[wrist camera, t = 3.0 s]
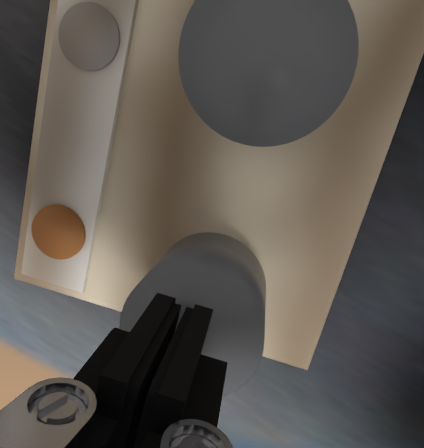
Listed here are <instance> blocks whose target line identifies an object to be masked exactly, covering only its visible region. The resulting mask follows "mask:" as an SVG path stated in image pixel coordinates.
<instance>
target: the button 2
mask: <svg viewBox="0 0 424 448" xmlns="http://www.w3.org/2000/svg"><path fill="white" fill-rule="evenodd" d="M157 293H160V294H164V295H167V296H170V297H174V298H176V301H175V303H176V304H180V305H181V309H180V313H179V317H178V321H177V325H176V329H177V326H178V324H179V322H180V320H181V318H182V316H183V314H184V311H185V309H186V307H189V308H194V306H195V304H197V305H201V306H204V307H207V308H211V309H213V313H212V317H211V320H210V324H209V327H208V331H207V334H206V338H205V342H204V345H203V349H202V352H201V354H202V355H205V356H209V357H212V358H215V359H218V360H222V361H225V362H227V363H228V364H227V370H226V376H225V382H224V388H223V394H222V397H223V396H226V395H228V394H230V393H232V392H234V391H236V390H237V389H239V388H240V387H242V386H243V385H244V384H245V383H246V382H247V381H248V380H249V379H250V378H251V377H252V375H253V374H254V373H255V371H256V369H257V368H258V366H259V363H260V361H261V358H262V354H263V350H264V340H265V310H266V280H265V274H264V271H263V268H262V266H261V264H260V262H259V260H258V259H257V257H256V256H255V255H254V254H253V252H252V251H251V250H250V249H249V248H248V247H247V246H245V245H244V244H243V243H241V242H240V241H238V240H236V239H234V238H232V237H230V236H227V235H224V234H220V233H212V232H204V233H197V234H193V235H190V236H187V237H185V238H183V239H181V240H180V241H178V242H176V243H175V244H174V245H173V246H172V247H171V248H170V249H169V250H168V251H167V252H166V253H165V254H164V255H163V257H162V258H161V259H160V260H159V261H158V262H157V263H156V264H155V266H154V267H153V268H152V269H151V270H150V271H149V272H148V273H147V274H146V276H145V277H144V278H143V279H142V280H141V281H140V282H139V283H138V284H137V286H136V287H135V288H134V289H133V290H132V291H131V293H130V294H129V296H128V297H127V299H126V301H125V304H124V306H123V309H122V313H121V318H120V329H121V330H125V331H128V332H130V331H131V330H132V328H133V327H134V325H135V324H136V322H137V321H138V320H139V318H140V317H141V315H142V314H143V312H144V311H145V309H146V308H147V307H148V305H149V304H150V302H151V301H152V299H153V298H154V296H155V295H156V294H157ZM176 329H175V331H176Z"/></svg>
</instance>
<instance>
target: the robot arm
mask: <svg viewBox="0 0 424 448" xmlns="http://www.w3.org/2000/svg"><path fill="white" fill-rule="evenodd" d="M175 301H176V298H174V297H170V296H167V295H164V294H160V293H157V294H156V295H155V296H154V298H153V299H152V301H151V302H150V304H149V305H148V307H147V308H146V309H145V311H144V312H143V314H142V315H141V317H140V318H139V320H138V321H137V322H136V324H135V325H134V327H133V328H132V330H131V331H130V332H128V331H125V330H121V329H118V328H114V329H113V330H112V331H111V332H110V333H109V334H108V336H107V337H106V338H105V339H104V341H103V342H102V343H101V344H100V346H99V347H98V348H97V349H96V351H95V352H94V353H93V355H92V356H91V357H90V358H89V360H88V361H87V362H86V363H85V365H84V366H83V367H82V368H81V370H80V371H79V372H78V373H77V375H76V376H75V377H74V379H70V378H52V379H47V380H44V381H40V382H38V383H36V384H34V385H33V386H31V387H29V388H28V389H27V390H25V391H24V392H23V393H22V394H20V395H19V396H18V397H17V398H15V399H14V400H13V401H12V402H10V403H9V404H8V405H7V406H5V407H4V408H3V409H2V410H0V448H233V446H232V444H231V443H230V441H229V439H228V438H227V436H226V435H225V434H224V433H223V432H222V431H221V430H220V429H218V428H217V424H218V418H219V412H220V406H221V400H222V394H223V388H224V382H225V376H226V370H227V364H228V363H227V362H225V361H222V360H218V359H215V358H212V357H209V356H205V355H202V354H201V352H202V349H203V345H204V342H205V338H206V334H207V331H208V327H209V324H210V320H211V317H212V313H213V309H211V308H207V307H204V306H201V305H197V304H195V306H194V308H189V307H186V309H185V311H184V314H183V316H182V318H181V320H180V322H179V324H178V326H177V329H176V325H177V321H178V317H179V313H180V309H181V305H180V304H176V303H175ZM175 329H176V331H175Z"/></svg>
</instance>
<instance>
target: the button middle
mask: <svg viewBox="0 0 424 448" xmlns="http://www.w3.org/2000/svg"><path fill="white" fill-rule="evenodd" d="M358 53H359V38H358V30H357V24H356V20H355V17H354V13H353V11H352V8H351V6H350V4H349V1H348V0H195V1H194V3H193V5H192V6H191V8H190V10H189V12H188V14H187V17H186V19H185V22H184V24H183V28H182V32H181V36H180V42H179V54H178V62H179V72H180V77H181V82H182V85H183V88H184V91H185V94H186V96H187V98H188V100H189V102H190V104H191V106H192V107H193V109H194V110H195V112H196V113H197V114H198V116H199V117H200V118H201V119H202V120H203V121H204V123H206V124H207V125H208V126H209V127H210V128H211V129H212V130H214V131H215V132H217V133H218V134H220V135H221V136H223V137H225V138H227V139H229V140H231V141H234V142H237V143H240V144H244V145H249V146H256V147H270V146H278V145H283V144H287V143H290V142H293V141H296V140H298V139H300V138H302V137H304V136H306V135H308V134H310V133H311V132H313V131H314V130H316V129H317V128H319V127H320V126H321V125H322V124H323V123H324V122H326V121H327V120H328V119H329V118H330V117H331V115H332V114H333V113H334V112H335V111H336V110H337V108H338V107H339V105H340V104H341V103H342V101H343V100H344V98H345V96H346V94H347V92H348V90H349V88H350V86H351V83H352V81H353V78H354V74H355V71H356V67H357V61H358Z"/></svg>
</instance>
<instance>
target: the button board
mask: <svg viewBox="0 0 424 448" xmlns="http://www.w3.org/2000/svg"><path fill="white" fill-rule="evenodd" d="M194 1H195V0H50V6H49V14H48V22H47V29H46V37H45V45H44V52H43V60H42V68H41V75H40V83H39V91H38V98H37V106H36V113H35V121H34V129H33V136H32V144H31V152H30V159H29V167H28V175H27V182H26V190H25V198H24V205H23V213H22V221H21V228H20V236H19V244H18V251H17V259H16V267H15V274H14V278H15V279H18V280H21V281H24V282H27V283H31V284H34V285H37V286H40V287H43V288H47V289H50V290H53V291H56V292H59V293H62V294H66V295H69V296H72V297H75V298H78V299H82V300H85V301H88V302H91V303H94V304H98V305H101V306H104V307H107V308H110V309H114V310H117V311H120V312H122V309H123V306H124V304H125V301H126V299H127V297H128V296H129V294H130V293H131V291H132V290H133V289H134V288H135V287H136V286H137V284H138V283H139V282H140V281H141V280H142V279H143V278H144V277H145V276H146V274H147V273H148V272H149V271H150V270H151V269H152V268H153V267H154V266H155V264H156V263H157V262H158V261H159V260H160V259H161V258H162V257H163V255H164V254H165V253H166V252H167V251H168V250H169V249H170V248H171V247H172V246H173V245H174V244H175V243H176V242H178V241H180V240H181V239H183V238H185V237H187V236H190V235H193V234H197V233H204V232H212V233H220V234H224V235H227V236H230V237H232V238H234V239H236V240H238V241H240V242H241V243H243V244H244V245H245V246H247V247H248V248H249V249H250V250H251V251H252V252H253V254H254V255H255V256H256V257H257V259H258V260H259V262H260V264H261V266H262V268H263V271H264V274H265V280H266V310H265V340H264V350H263V354H262V356H264V357H267V358H270V359H273V360H277V361H280V362H283V363H286V364H289V365H292V366H296V367H299V368H302V369H305V370H308V367H309V364H310V362H311V359H312V356H313V354H314V351H315V348H316V345H317V343H318V340H319V337H320V334H321V332H322V329H323V326H324V324H325V321H326V318H327V315H328V313H329V310H330V307H331V304H332V302H333V299H334V296H335V293H336V291H337V288H338V285H339V283H340V280H341V277H342V274H343V272H344V269H345V266H346V263H347V261H348V258H349V255H350V253H351V250H352V247H353V244H354V242H355V239H356V236H357V233H358V231H359V228H360V225H361V223H362V220H363V217H364V214H365V212H366V209H367V206H368V203H369V201H370V198H371V195H372V193H373V190H374V187H375V184H376V182H377V179H378V176H379V173H380V171H381V168H382V165H383V163H384V160H385V157H386V154H387V152H388V149H389V146H390V143H391V141H392V138H393V135H394V133H395V130H396V127H397V124H398V122H399V119H400V116H401V113H402V111H403V108H404V105H405V103H406V100H407V97H408V94H409V92H410V89H411V86H412V83H413V81H414V78H415V75H416V73H417V70H418V67H419V64H420V62H421V59H422V56H423V53H424V0H348V1H349V4H350V6H351V8H352V11H353V13H354V17H355V20H356V24H357V30H358V38H359V53H358V61H357V67H356V71H355V74H354V78H353V81H352V83H351V86H350V88H349V90H348V92H347V94H346V96H345V98H344V100H343V101H342V103H341V104H340V105H339V107H338V108H337V110H336V111H335V112H334V113H333V114H332V115H331V117H330V118H329V119H328V120H327V121H326V122H324V123H323V124H322V125H321V126H320V127H319V128H317V129H316V130H314V131H313V132H311V133H310V134H308V135H306V136H304V137H302V138H300V139H298V140H296V141H293V142H290V143H287V144H283V145H278V146H270V147H256V146H249V145H244V144H240V143H237V142H234V141H231V140H229V139H227V138H225V137H223V136H221V135H220V134H218V133H217V132H215V131H214V130H212V129H211V128H210V127H209V126H208V125H207V124H206V123H204V121H203V120H202V119H201V118H200V117H199V116H198V114H197V113H196V112H195V110H194V109H193V107H192V106H191V104H190V102H189V100H188V98H187V96H186V94H185V91H184V88H183V85H182V82H181V77H180V72H179V62H178V54H179V42H180V36H181V32H182V28H183V24H184V22H185V19H186V17H187V14H188V12H189V10H190V8H191V6H192V5H193V3H194Z"/></svg>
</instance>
